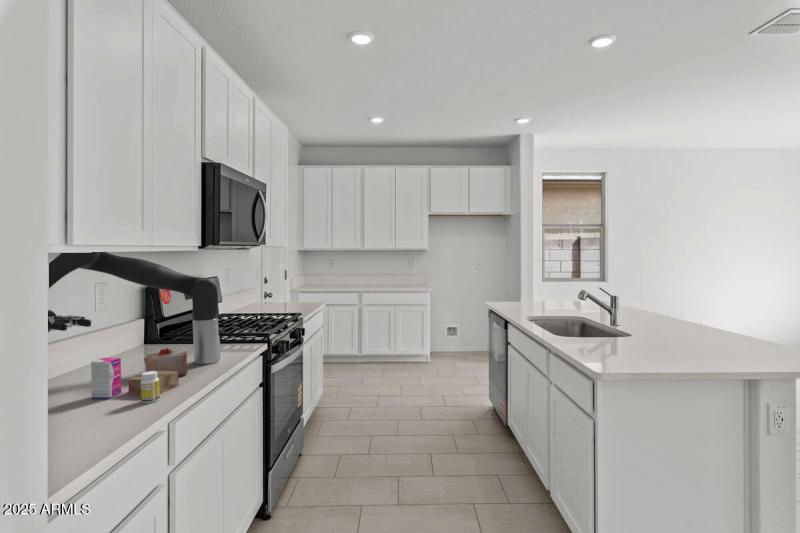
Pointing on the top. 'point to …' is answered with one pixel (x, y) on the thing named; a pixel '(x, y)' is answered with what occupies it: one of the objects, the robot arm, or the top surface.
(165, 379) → the tan block
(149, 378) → the supplement bottle
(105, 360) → the supplement box
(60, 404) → the top surface
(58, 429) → the top surface
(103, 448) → the top surface
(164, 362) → the food item
